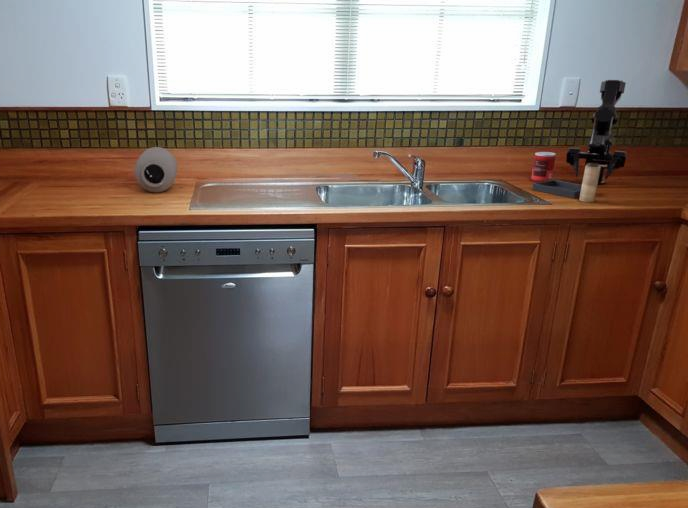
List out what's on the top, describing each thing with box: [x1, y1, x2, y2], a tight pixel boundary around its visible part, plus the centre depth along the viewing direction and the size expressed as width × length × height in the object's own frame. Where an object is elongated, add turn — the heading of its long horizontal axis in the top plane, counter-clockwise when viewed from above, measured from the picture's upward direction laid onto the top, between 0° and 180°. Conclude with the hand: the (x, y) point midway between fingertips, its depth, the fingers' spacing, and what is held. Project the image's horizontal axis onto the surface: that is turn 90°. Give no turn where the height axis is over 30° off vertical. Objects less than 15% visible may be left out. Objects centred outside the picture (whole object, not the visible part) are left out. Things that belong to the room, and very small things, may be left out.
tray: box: [531, 179, 582, 199], centre depth 226 cm, size 13×17×2 cm
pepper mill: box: [578, 163, 601, 203], centre depth 211 cm, size 5×5×13 cm
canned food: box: [531, 151, 557, 183], centre depth 243 cm, size 8×8×11 cm
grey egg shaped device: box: [133, 146, 178, 194], centre depth 222 cm, size 19×15×25 cm
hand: (591, 177), depth 211 cm, fingers open, 9 cm apart
